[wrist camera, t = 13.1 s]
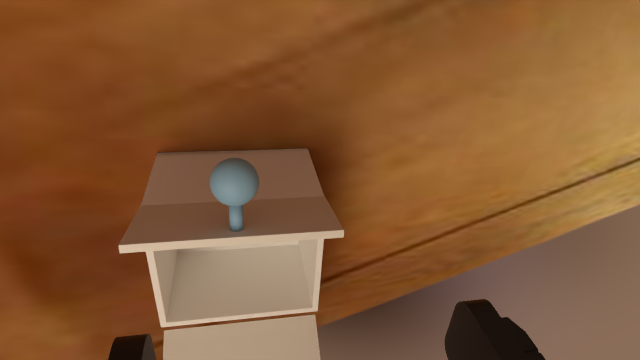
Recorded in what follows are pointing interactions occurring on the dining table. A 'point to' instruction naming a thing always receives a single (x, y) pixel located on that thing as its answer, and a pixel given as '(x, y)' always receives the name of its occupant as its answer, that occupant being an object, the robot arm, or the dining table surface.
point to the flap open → (246, 341)
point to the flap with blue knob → (230, 217)
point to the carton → (235, 260)
